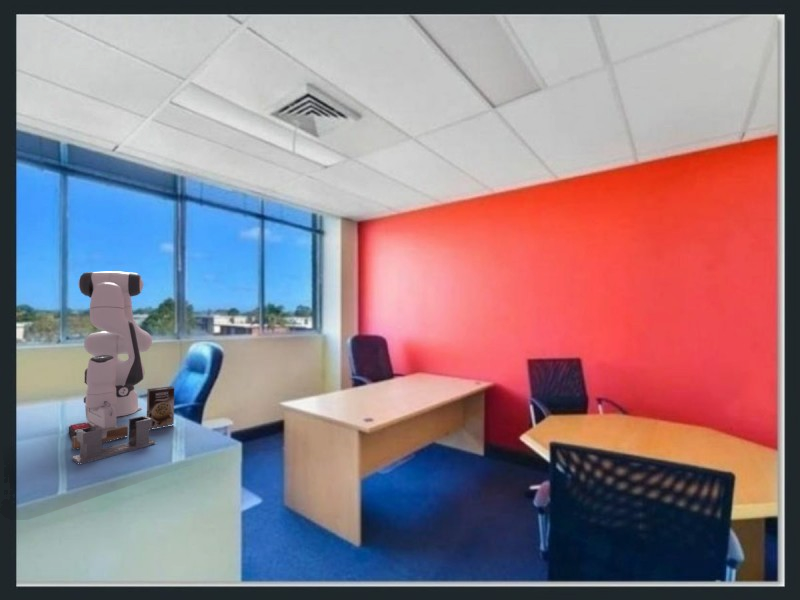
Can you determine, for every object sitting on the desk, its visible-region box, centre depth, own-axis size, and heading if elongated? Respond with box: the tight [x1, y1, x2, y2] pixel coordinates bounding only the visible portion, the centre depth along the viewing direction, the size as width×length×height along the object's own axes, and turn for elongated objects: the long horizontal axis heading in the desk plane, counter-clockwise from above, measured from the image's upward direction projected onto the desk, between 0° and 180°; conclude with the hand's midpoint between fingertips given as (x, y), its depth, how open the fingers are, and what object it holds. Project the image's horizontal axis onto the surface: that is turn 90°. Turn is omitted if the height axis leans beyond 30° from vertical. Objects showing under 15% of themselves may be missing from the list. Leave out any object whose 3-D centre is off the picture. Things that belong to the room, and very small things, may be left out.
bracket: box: [71, 415, 156, 465], centre depth 131 cm, size 7×22×10 cm, turn 145°
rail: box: [71, 424, 129, 450], centre depth 140 cm, size 3×16×4 cm, turn 145°
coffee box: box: [146, 386, 175, 429], centre depth 158 cm, size 9×6×16 cm
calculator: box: [68, 421, 94, 438], centre depth 149 cm, size 11×4×15 cm
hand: (100, 436), depth 140 cm, fingers closed on rail, 3 cm apart
